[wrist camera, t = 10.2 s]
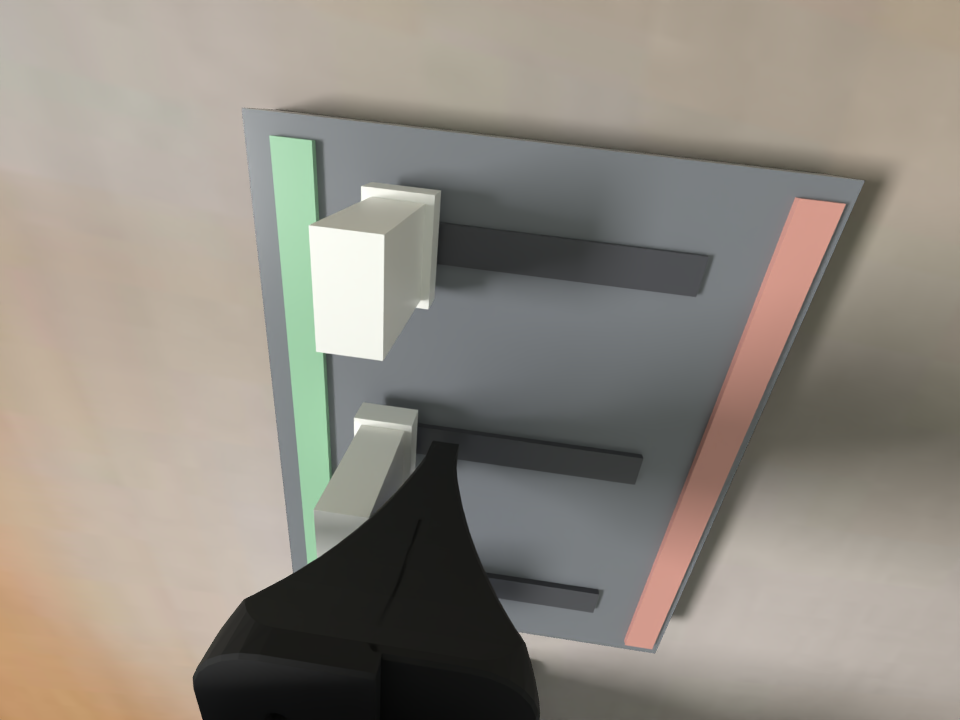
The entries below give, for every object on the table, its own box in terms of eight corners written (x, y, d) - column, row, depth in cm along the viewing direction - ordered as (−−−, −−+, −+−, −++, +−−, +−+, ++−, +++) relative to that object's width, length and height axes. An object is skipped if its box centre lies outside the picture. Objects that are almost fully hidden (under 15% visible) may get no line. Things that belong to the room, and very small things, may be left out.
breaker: (434, 298, 12) (394, 372, 8) (372, 290, 12) (305, 360, 8) (440, 190, 11) (397, 222, 7) (372, 181, 11) (295, 210, 7)
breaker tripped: (414, 480, 15) (377, 594, 11) (363, 473, 15) (311, 584, 11) (418, 410, 14) (378, 512, 10) (362, 402, 14) (303, 501, 10)
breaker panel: (646, 616, 19) (656, 658, 18) (311, 565, 20) (293, 601, 18) (826, 174, 12) (870, 181, 10) (273, 109, 12) (236, 107, 11)
